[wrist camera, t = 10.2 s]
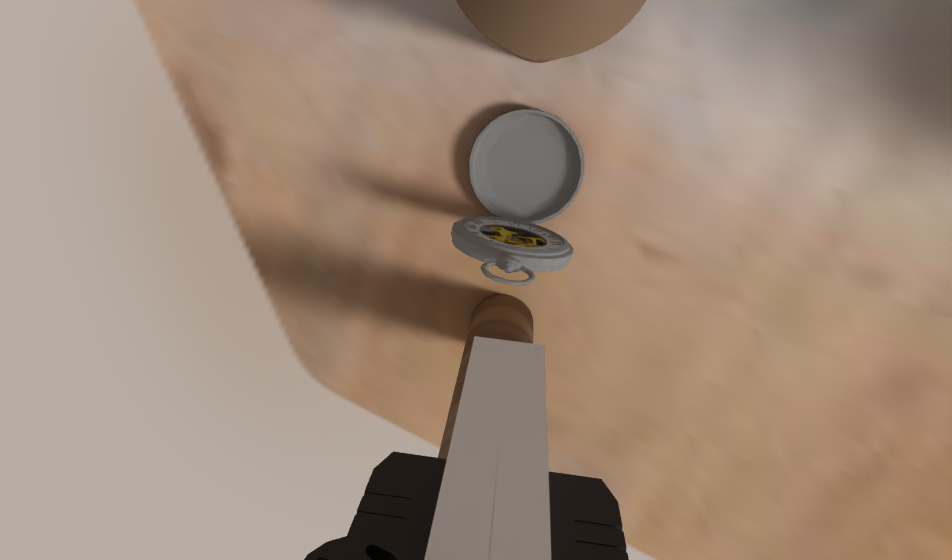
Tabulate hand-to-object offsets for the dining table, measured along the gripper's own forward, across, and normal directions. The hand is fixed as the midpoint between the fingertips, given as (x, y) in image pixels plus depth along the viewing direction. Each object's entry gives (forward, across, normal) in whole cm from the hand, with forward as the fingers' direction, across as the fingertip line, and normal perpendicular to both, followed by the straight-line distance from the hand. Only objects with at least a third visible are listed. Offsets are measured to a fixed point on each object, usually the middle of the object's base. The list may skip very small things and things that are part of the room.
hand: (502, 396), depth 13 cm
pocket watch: (+25, 0, 0) cm, 25 cm away
